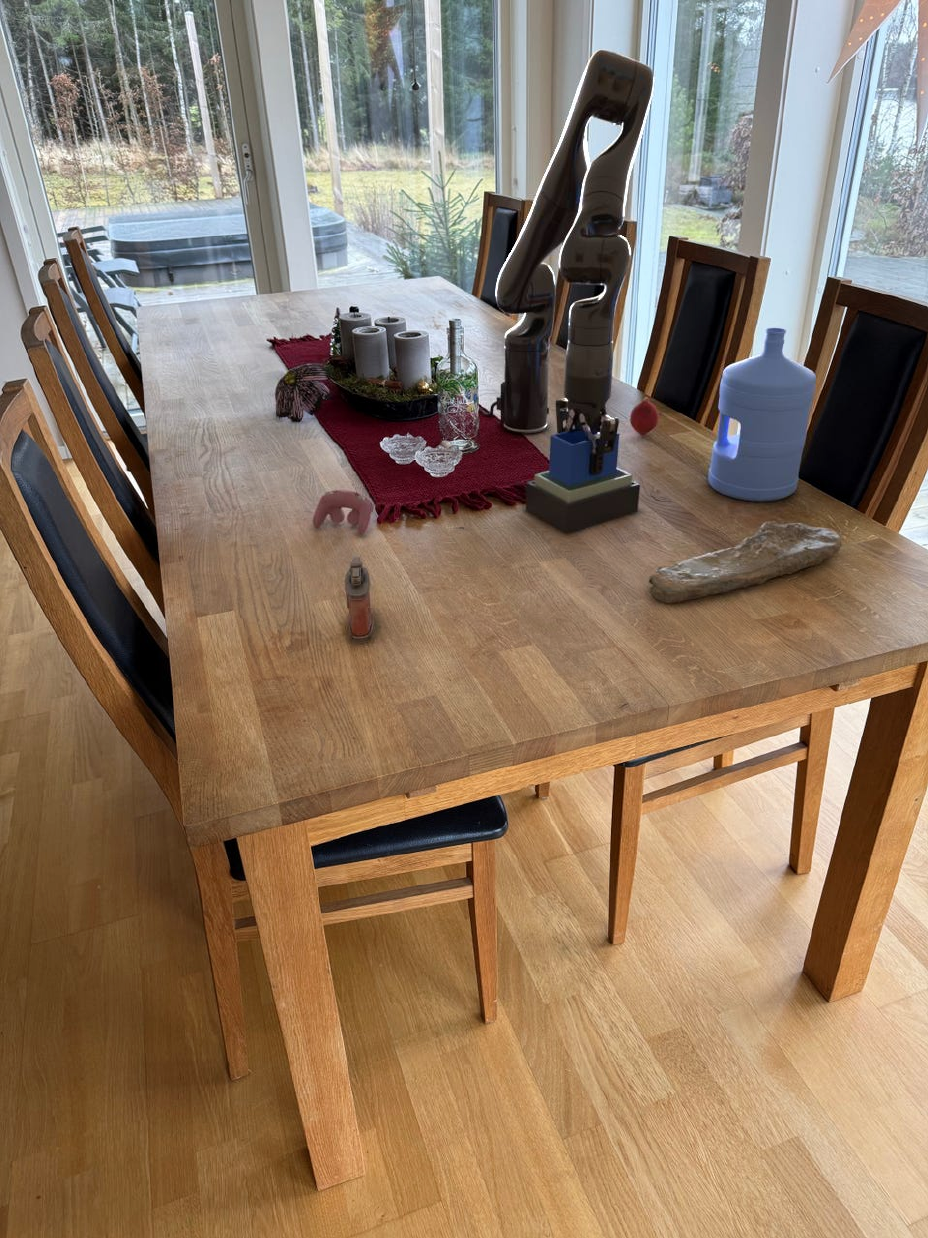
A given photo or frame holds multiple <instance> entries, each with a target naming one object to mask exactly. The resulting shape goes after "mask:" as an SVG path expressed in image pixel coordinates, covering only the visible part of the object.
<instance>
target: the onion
mask: <svg viewBox="0 0 928 1238" xmlns="http://www.w3.org/2000/svg"><path fill="white" fill-rule="evenodd" d="M629 423H630V425H631V428H633V430H634V431H635V432H636V433H638V434H639V435H640V436H645V435H647V434H648V433H650V432H651V431H653V430H654V429H655V428H656V426H657V425H658V423H659V412H658V409H657V408H656V406H655V405H654V404H653V403H651V402H650V398H649V397H647V396H646V397H644V398H643V400H642V401H641V402H639V403H637V404H636V405H635V406H634V407H633V408H632V410H631V412H630V417H629Z"/></svg>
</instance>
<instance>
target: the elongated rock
mask: <svg viewBox="0 0 928 1238" xmlns="http://www.w3.org/2000/svg"><path fill="white" fill-rule="evenodd" d="M841 546H842V539H841V536H840V534H838V532H836V531H834V530H832V529H829V528H827V527H819V526H818V527H814V526H810V525H808V524H804V523H801V522H798V523H797V522H788V523H785V524H784V523H778V522H777V521H776V520H774V519H773V520H772V521H769V520H767V521H764V522H763V523H762V525H761V526H760V528H759V530H758V531H756V533H755V534H753V536H747V537H746V538H744V539H743V540H742V541H741V542H740V543H739V544H737V545H736V546H731V547H729V548H721V549H718V550H713V551H710V552H707V553H706V554H703V555H699V556H694V557H691V558H688V559H685V560H683V561H677V562H675V563H673V564H671V565H668V566H666V565H665V566H660V567H658V568H657V571H655V573H653V574H652V575H650V576H649V577H648V578H649V579H648V583H649V585H651V586H650V588H649V592H650V595H651V596H652V597H653V598H654V599H656V600H657V601H659V602H663V603H665V604H675V603H680V602H683V601H687V600H690V599H698V598H703V597H705V596H712V595H716V594H722V593H723V594H724V593H729V592H730V591H731V590H734V589H740V588H747V587H749V586H755V585H760V584H761V585H762V584H764V583H765V582H766V581H769V580H770V579H772V578H773V579H774V578H776V577H779V576H780V577H782V576H783V575H791V574H793V573H796V572H798V571H800V570H802V569H806V568H808V567H814V566H817V565H820V564H822V563H823V561H824V560H826V559H829V558H830V557H833V556H834V555H835V554H837V553H838V552H839V551H840V549H841Z"/></svg>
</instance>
